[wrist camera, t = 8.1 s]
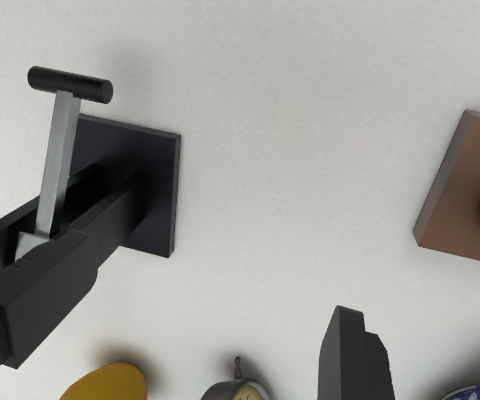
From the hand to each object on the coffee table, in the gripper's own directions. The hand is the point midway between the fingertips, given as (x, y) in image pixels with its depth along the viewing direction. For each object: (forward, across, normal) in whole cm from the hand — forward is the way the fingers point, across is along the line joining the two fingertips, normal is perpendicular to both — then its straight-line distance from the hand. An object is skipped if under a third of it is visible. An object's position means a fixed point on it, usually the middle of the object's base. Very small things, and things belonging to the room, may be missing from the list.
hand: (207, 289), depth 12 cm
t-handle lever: (+11, +13, +4) cm, 17 cm away
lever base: (+19, +13, +8) cm, 24 cm away
